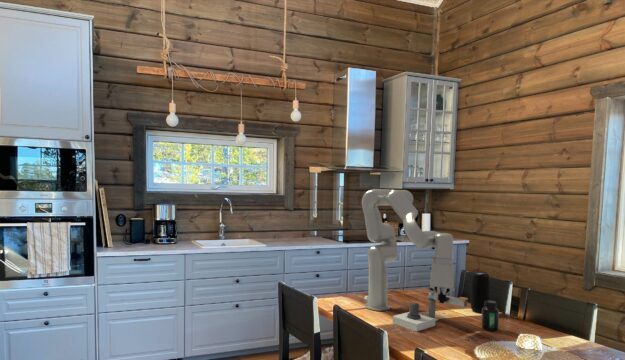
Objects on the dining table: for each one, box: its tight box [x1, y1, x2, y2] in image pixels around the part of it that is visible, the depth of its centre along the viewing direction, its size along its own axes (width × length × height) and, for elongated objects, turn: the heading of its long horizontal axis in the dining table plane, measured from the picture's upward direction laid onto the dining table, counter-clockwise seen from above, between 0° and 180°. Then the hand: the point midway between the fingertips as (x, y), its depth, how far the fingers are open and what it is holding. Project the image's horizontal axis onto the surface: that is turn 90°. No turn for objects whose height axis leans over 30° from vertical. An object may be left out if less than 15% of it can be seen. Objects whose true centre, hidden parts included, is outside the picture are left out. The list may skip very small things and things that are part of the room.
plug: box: [407, 302, 421, 320], centre depth 181 cm, size 6×6×9 cm
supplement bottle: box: [481, 299, 500, 332], centre depth 181 cm, size 7×7×12 cm
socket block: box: [392, 298, 439, 332], centre depth 184 cm, size 13×22×10 cm, turn 128°
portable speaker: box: [469, 270, 491, 314], centre depth 207 cm, size 9×9×20 cm
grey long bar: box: [427, 291, 470, 308], centre depth 184 cm, size 4×18×3 cm, turn 43°
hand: (441, 302), depth 183 cm, fingers closed
